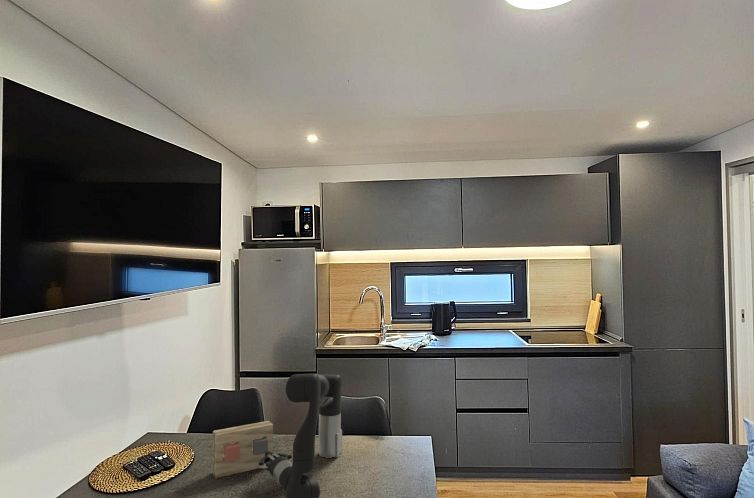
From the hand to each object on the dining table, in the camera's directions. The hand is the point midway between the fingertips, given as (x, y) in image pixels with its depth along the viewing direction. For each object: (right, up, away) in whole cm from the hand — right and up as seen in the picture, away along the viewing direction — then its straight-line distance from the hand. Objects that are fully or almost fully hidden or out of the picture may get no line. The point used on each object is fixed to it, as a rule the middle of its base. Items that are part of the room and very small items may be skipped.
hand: (267, 453), depth 173 cm
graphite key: (-4, -3, +7) cm, 9 cm away
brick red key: (-14, -2, +1) cm, 14 cm away
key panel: (-11, -9, +7) cm, 16 cm away
